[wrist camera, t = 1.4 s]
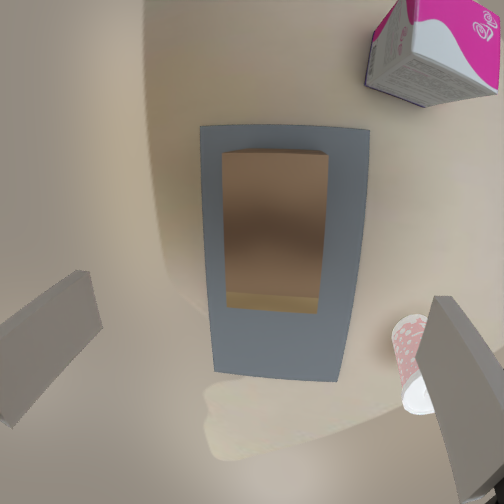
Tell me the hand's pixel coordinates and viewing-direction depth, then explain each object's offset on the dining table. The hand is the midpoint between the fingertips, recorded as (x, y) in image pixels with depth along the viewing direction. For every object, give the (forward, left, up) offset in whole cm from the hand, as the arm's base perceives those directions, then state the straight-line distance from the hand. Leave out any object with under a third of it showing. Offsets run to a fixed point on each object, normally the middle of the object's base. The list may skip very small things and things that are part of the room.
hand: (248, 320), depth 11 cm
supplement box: (-13, +10, -17) cm, 24 cm away
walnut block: (0, 0, -16) cm, 16 cm away
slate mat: (+6, 0, -17) cm, 18 cm away
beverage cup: (+12, +14, -17) cm, 25 cm away
